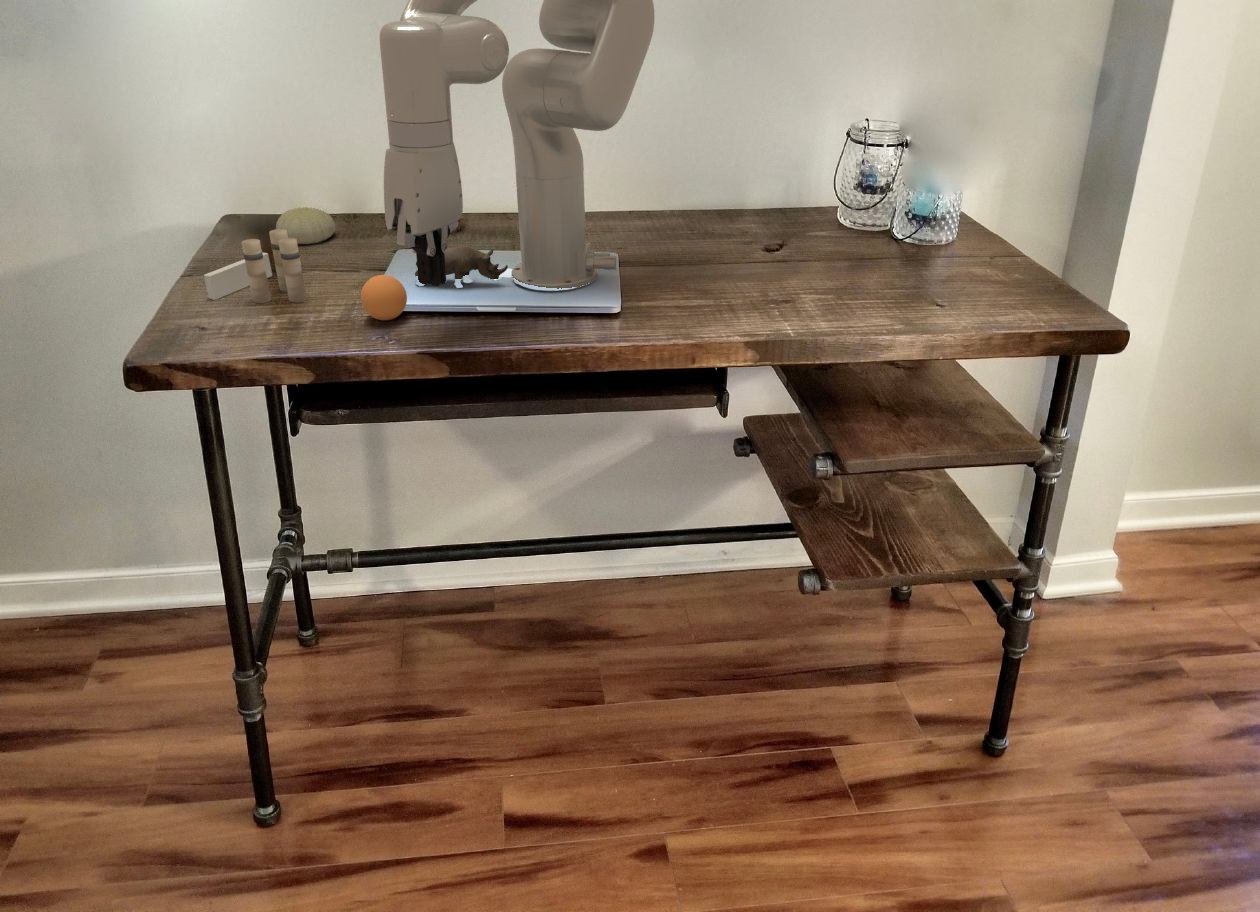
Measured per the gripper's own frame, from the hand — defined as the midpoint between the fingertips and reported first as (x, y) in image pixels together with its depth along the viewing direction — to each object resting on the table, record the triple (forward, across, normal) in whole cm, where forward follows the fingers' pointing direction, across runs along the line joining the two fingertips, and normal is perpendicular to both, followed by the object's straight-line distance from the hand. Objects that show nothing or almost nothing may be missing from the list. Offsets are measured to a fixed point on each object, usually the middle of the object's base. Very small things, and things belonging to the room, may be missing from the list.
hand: (432, 282), depth 131 cm
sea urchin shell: (+7, -23, -44) cm, 50 cm away
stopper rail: (+7, -1, -36) cm, 37 cm away
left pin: (+7, +1, -30) cm, 31 cm away
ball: (+4, -1, -9) cm, 10 cm away
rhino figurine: (+7, -17, -8) cm, 20 cm away
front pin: (+7, -1, -25) cm, 26 cm away
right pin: (+7, -4, -30) cm, 31 cm away
